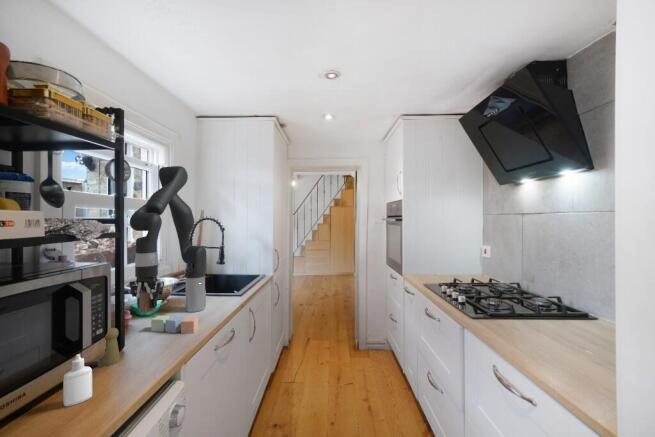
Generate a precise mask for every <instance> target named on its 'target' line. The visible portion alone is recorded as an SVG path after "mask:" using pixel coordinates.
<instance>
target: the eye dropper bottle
mask: <svg viewBox="0 0 655 437" xmlns="http://www.w3.org/2000/svg"><path fill="white" fill-rule="evenodd" d="M62 384H63V394H62V395H63V399H62V400H63V406H64V407H72V406H75V405H78V404H81V403H84V402H86V401H88V400H90V399H91V398H92V397H93V370H92V368H91V367H90V366H85V358H83V357H81V354H80V353H79V354H76V355H75V359H73V360H72V361H71V370H69V371H68V372H66V373H65V374H64V375H63V383H62Z"/></svg>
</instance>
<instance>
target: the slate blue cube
mask: <svg viewBox="0 0 655 437" xmlns="http://www.w3.org/2000/svg"><path fill="white" fill-rule="evenodd" d="M184 319H185V317H184V316H179V315H177V316H176V315H175V316H172V317H170V318H169V319H167V320H166V330H165V333H174V334H176V333H178V332H181V321H183V320H184Z"/></svg>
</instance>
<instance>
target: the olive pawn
mask: <svg viewBox="0 0 655 437" xmlns="http://www.w3.org/2000/svg"><path fill="white" fill-rule="evenodd" d="M109 328H110V330H109V331H108V332H107V334H106V336H105V340H106V349H105V352H106V354H105V355H104V356H102V357H101V358H99V357H98V358H99V359H98V358H97V367H98V368H104V367H103V366H106V367H111V366H113V365H116V364H117V363H119V362H120V361H121V357H120V351H119V343H118V339H117V338H118V336H119V334H120V333H119V329H118V328H116V327H109ZM110 365H111V366H110Z"/></svg>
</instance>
